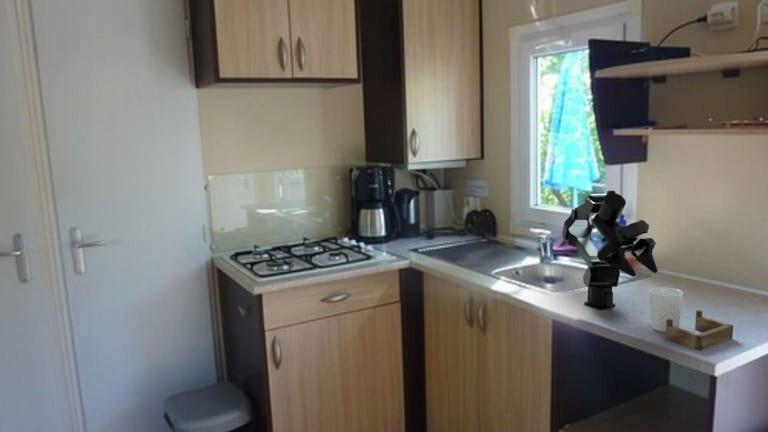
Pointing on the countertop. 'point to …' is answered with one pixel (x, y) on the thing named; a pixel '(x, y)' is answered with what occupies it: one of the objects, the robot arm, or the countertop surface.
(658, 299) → the white cup
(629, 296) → the countertop surface
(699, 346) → the rack
